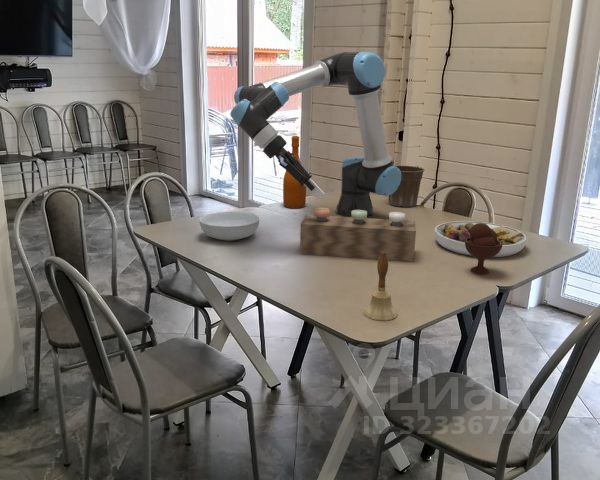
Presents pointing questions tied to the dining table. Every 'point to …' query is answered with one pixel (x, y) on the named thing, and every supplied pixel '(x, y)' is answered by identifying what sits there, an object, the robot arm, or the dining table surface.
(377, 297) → the hand bell
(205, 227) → the serving bowl
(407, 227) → the console
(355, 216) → the sage button
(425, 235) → the dining table surface
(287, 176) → the wine bottle
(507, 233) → the bowl
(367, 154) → the robot arm
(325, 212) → the terracotta button
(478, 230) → the ice cream bowl
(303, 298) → the dining table surface
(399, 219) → the cream button
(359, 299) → the dining table surface
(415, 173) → the plant pot
